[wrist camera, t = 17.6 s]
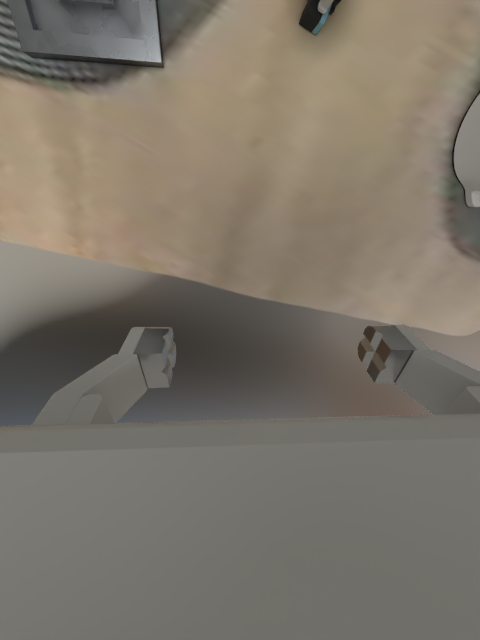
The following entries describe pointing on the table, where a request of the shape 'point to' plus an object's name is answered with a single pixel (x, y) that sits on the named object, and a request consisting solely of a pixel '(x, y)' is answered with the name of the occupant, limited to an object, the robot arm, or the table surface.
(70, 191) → the table surface
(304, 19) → the push button
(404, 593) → the robot arm
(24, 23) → the tray
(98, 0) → the block
